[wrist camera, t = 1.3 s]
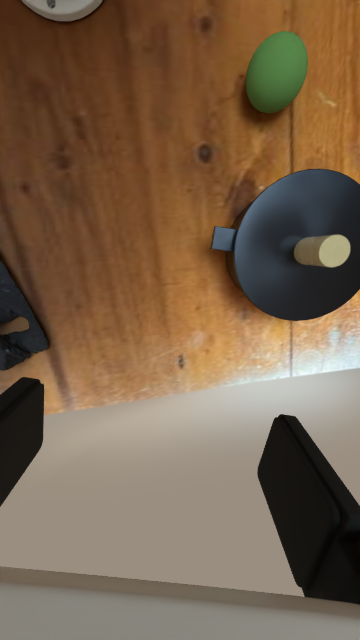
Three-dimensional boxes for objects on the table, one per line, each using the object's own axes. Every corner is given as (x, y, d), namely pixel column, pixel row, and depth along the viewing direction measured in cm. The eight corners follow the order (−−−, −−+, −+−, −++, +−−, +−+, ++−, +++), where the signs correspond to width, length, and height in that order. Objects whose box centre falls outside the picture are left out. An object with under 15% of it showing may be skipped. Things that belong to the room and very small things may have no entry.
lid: (248, 160, 25) (270, 133, 19) (393, 185, 25) (457, 166, 20) (219, 308, 29) (230, 323, 23) (344, 326, 30) (385, 344, 24)
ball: (245, 56, 27) (264, 4, 22) (297, 66, 28) (329, 18, 22) (235, 119, 29) (249, 86, 23) (283, 127, 29) (309, 98, 23)
